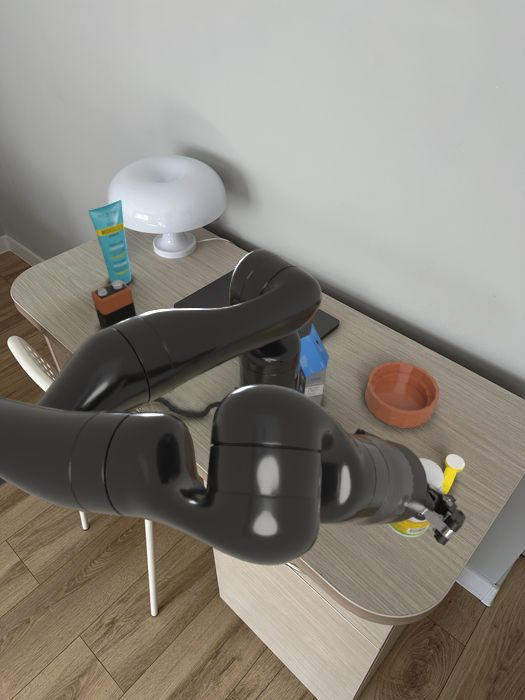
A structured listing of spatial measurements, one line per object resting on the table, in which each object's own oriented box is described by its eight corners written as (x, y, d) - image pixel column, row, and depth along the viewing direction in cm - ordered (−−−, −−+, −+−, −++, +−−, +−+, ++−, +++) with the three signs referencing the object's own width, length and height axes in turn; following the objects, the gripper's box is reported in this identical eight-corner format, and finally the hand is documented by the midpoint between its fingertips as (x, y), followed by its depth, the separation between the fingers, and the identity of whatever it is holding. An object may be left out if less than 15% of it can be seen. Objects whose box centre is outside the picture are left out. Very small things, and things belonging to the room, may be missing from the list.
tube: (113, 290, 112) (94, 214, 99) (102, 281, 115) (82, 205, 102) (140, 277, 116) (125, 202, 103) (129, 269, 119) (113, 194, 106)
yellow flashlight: (448, 502, 74) (459, 481, 70) (430, 494, 76) (440, 473, 71) (458, 473, 78) (469, 451, 74) (441, 465, 79) (451, 444, 75)
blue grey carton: (287, 374, 94) (291, 325, 85) (307, 371, 94) (312, 322, 86) (301, 409, 87) (307, 360, 79) (322, 405, 88) (329, 356, 80)
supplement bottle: (396, 489, 62) (413, 444, 56) (435, 514, 60) (458, 469, 53) (375, 520, 59) (391, 476, 53) (416, 547, 57) (438, 505, 50)
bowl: (359, 419, 86) (362, 402, 83) (370, 372, 94) (374, 355, 91) (429, 437, 83) (436, 421, 80) (435, 387, 92) (441, 370, 89)
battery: (138, 322, 104) (130, 284, 97) (110, 336, 101) (99, 298, 94) (128, 313, 107) (119, 275, 100) (99, 326, 103) (88, 287, 96)
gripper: (294, 454, 48) (364, 464, 61) (402, 578, 40) (456, 558, 53) (342, 396, 47) (402, 419, 60) (464, 511, 38) (503, 508, 51)
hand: (427, 484), depth 56 cm, fingers closed on supplement bottle, 5 cm apart
